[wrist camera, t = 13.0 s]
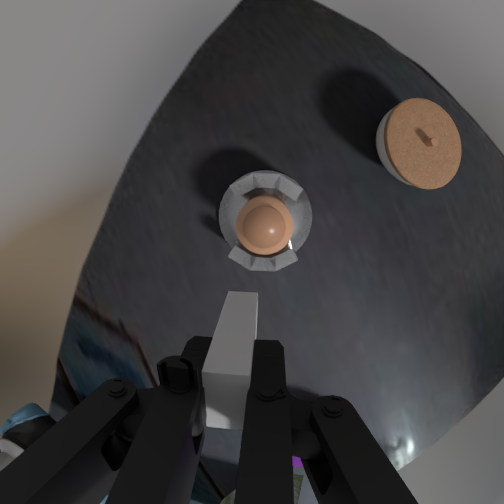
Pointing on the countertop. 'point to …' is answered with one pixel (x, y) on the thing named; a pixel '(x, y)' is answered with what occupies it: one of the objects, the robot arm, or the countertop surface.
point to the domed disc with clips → (242, 194)
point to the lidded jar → (419, 144)
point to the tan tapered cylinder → (264, 224)
